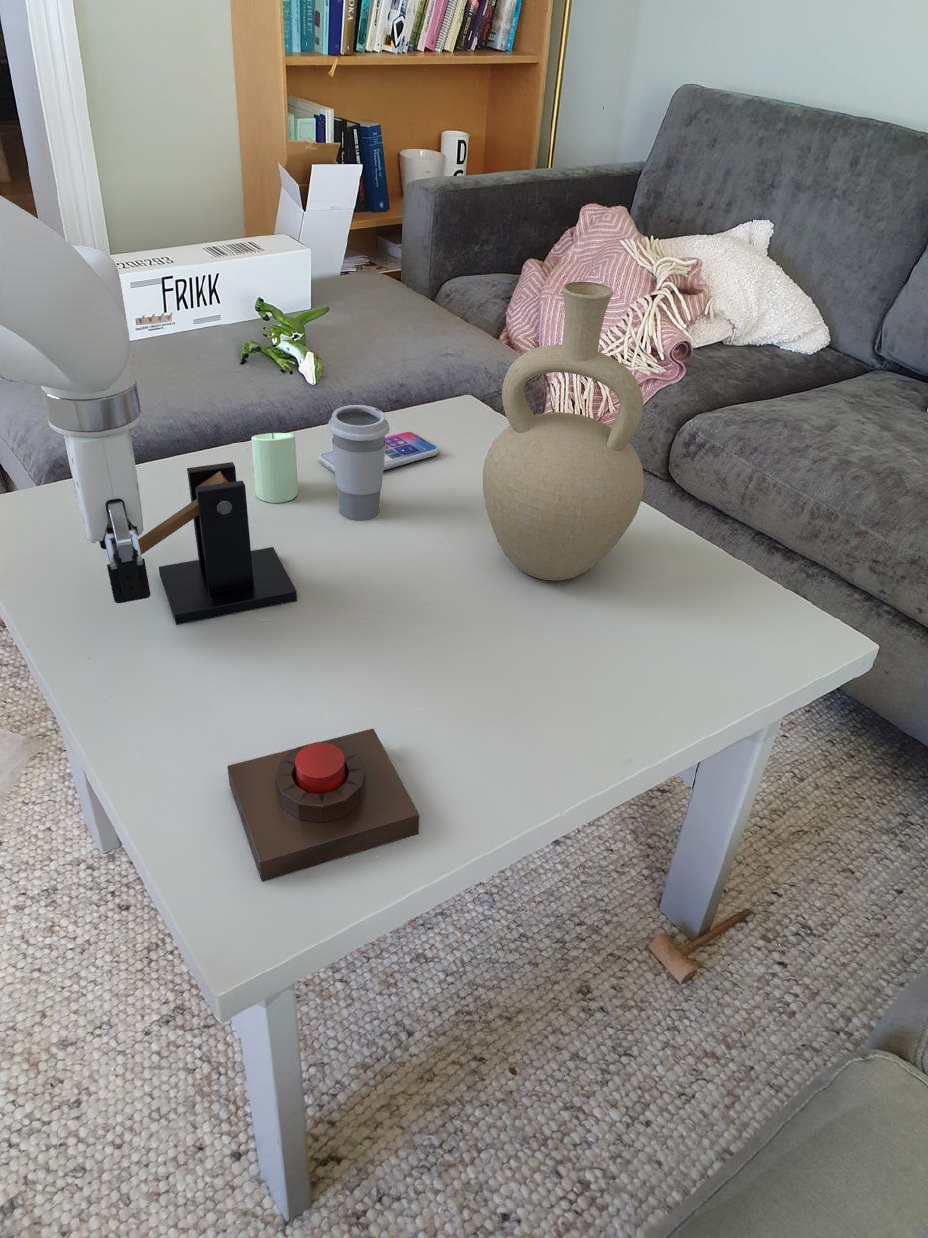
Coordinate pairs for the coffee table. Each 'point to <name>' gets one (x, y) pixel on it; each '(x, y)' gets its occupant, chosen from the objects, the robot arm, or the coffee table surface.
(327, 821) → the button box
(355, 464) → the cup
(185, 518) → the lever
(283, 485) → the candle
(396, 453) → the smartphone
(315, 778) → the button
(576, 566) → the vase
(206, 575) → the bracket
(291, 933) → the coffee table surface
